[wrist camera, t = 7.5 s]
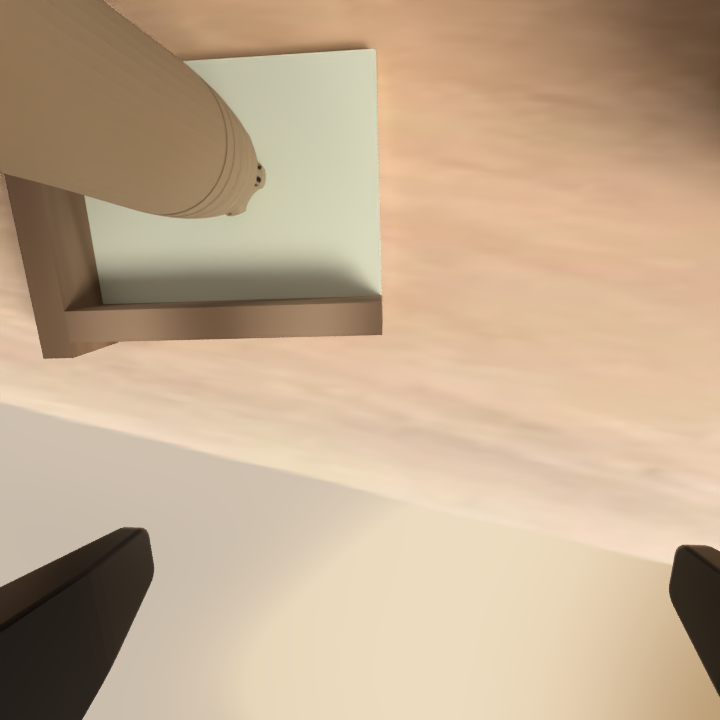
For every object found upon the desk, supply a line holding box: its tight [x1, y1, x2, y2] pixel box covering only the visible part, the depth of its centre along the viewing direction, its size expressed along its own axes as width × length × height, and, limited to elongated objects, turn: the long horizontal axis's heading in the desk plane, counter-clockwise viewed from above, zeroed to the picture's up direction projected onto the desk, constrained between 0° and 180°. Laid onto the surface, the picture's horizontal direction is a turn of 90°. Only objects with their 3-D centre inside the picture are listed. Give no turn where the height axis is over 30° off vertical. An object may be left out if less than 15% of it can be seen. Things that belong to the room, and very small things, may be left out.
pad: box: [84, 49, 382, 304], centre depth 18 cm, size 12×9×1 cm
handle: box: [0, 0, 266, 219], centre depth 10 cm, size 5×6×15 cm
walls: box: [4, 174, 382, 359], centre depth 17 cm, size 13×11×3 cm
